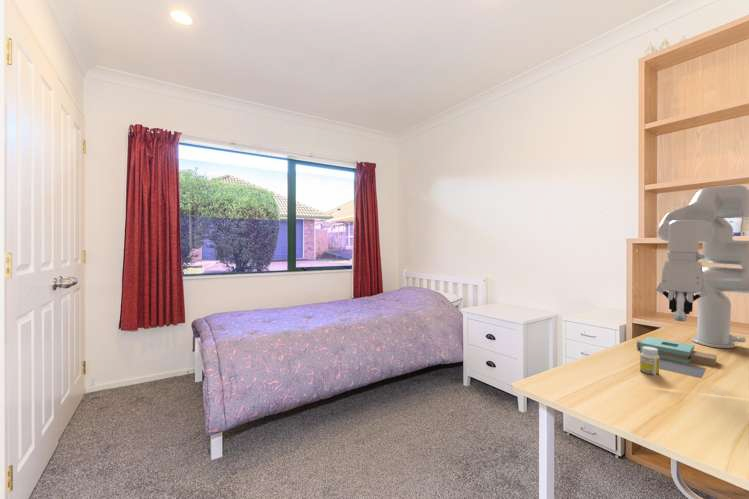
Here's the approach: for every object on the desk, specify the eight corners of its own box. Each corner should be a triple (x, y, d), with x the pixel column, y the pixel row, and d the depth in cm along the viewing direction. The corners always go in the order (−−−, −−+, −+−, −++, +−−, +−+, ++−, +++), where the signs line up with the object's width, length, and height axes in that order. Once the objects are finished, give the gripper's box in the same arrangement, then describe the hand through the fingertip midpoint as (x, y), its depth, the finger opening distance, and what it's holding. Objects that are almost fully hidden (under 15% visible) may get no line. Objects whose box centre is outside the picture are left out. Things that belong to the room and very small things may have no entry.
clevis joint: (717, 361, 121) (717, 349, 121) (713, 370, 113) (713, 356, 113) (641, 346, 137) (641, 335, 137) (633, 353, 129) (633, 341, 129)
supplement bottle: (652, 371, 112) (653, 346, 112) (662, 377, 107) (663, 351, 107) (636, 370, 112) (637, 345, 112) (646, 376, 108) (647, 350, 107)
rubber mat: (706, 370, 113) (706, 368, 113) (701, 380, 105) (701, 378, 105) (659, 360, 122) (659, 358, 122) (651, 368, 114) (651, 366, 114)
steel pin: (683, 319, 115) (684, 289, 114) (688, 321, 112) (689, 291, 112) (672, 318, 116) (673, 289, 115) (676, 321, 113) (678, 290, 113)
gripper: (718, 258, 109) (716, 315, 110) (653, 255, 122) (651, 307, 122) (716, 259, 104) (713, 319, 105) (648, 256, 117) (646, 310, 118)
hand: (680, 312), depth 114 cm, fingers closed on steel pin, 3 cm apart
